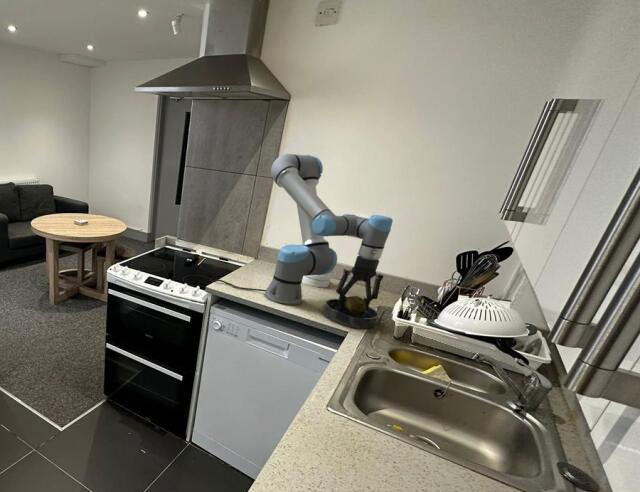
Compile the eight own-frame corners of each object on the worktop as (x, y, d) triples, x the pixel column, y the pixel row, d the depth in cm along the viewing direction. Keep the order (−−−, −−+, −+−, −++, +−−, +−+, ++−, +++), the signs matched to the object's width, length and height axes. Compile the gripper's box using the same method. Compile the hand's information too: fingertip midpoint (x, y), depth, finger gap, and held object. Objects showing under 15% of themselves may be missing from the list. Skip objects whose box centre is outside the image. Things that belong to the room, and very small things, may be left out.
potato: (362, 310, 160) (368, 292, 157) (361, 321, 150) (368, 302, 147) (340, 305, 164) (346, 287, 161) (337, 315, 154) (343, 296, 150)
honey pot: (306, 276, 205) (315, 243, 198) (332, 284, 197) (342, 249, 190) (296, 281, 196) (306, 246, 189) (322, 289, 188) (333, 253, 181)
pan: (328, 324, 151) (331, 313, 149) (318, 305, 168) (320, 295, 167) (382, 333, 148) (386, 322, 146) (366, 312, 165) (369, 303, 163)
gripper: (342, 256, 146) (325, 311, 155) (401, 263, 143) (380, 320, 152) (337, 251, 153) (321, 304, 162) (393, 258, 149) (374, 312, 158)
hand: (350, 312), depth 157 cm, fingers closed on potato, 7 cm apart
